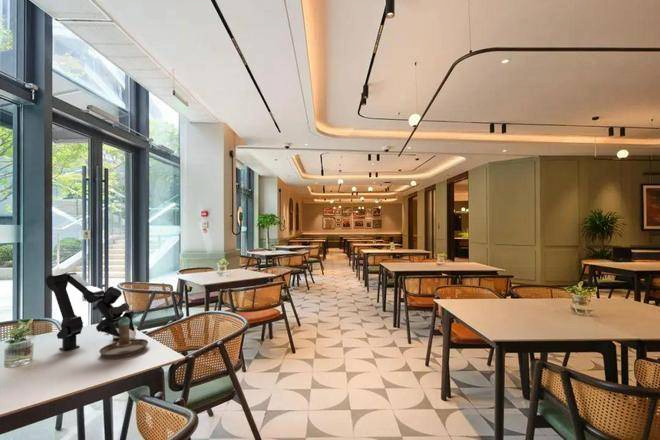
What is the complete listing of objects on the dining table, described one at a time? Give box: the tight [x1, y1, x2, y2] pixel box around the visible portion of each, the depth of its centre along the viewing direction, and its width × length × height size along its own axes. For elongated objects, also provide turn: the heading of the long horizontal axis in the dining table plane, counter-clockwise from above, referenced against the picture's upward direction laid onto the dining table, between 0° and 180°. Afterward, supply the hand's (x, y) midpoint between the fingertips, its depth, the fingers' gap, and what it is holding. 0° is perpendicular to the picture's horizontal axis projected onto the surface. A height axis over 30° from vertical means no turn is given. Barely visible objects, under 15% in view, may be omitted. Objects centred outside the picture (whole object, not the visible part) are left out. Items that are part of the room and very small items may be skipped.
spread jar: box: [111, 322, 137, 341], centre depth 188 cm, size 12×11×12 cm
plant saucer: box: [98, 338, 149, 359], centre depth 167 cm, size 21×21×3 cm
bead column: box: [117, 317, 132, 348], centre depth 167 cm, size 6×6×14 cm
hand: (126, 333), depth 167 cm, fingers open, 9 cm apart
